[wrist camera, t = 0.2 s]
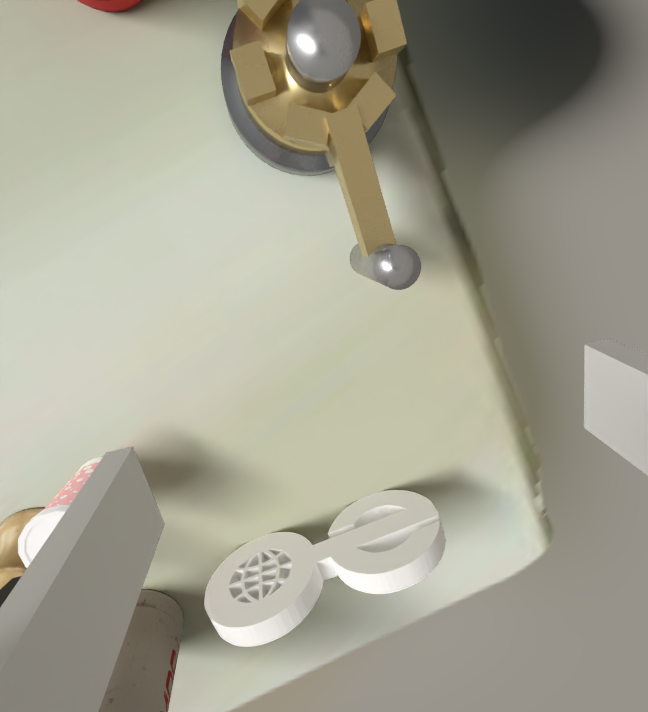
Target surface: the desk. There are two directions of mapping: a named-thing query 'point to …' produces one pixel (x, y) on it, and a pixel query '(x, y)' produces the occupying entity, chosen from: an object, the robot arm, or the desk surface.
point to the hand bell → (13, 544)
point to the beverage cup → (52, 514)
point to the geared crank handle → (328, 103)
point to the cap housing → (256, 139)
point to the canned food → (111, 4)
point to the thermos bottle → (146, 657)
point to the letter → (323, 566)
